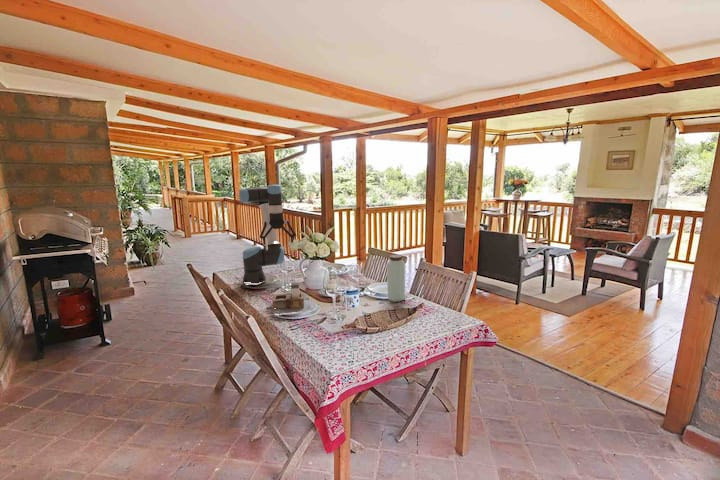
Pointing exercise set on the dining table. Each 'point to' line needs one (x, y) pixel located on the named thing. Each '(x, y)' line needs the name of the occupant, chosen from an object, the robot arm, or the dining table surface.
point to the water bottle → (396, 278)
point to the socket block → (288, 301)
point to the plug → (295, 290)
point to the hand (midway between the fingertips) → (279, 249)
